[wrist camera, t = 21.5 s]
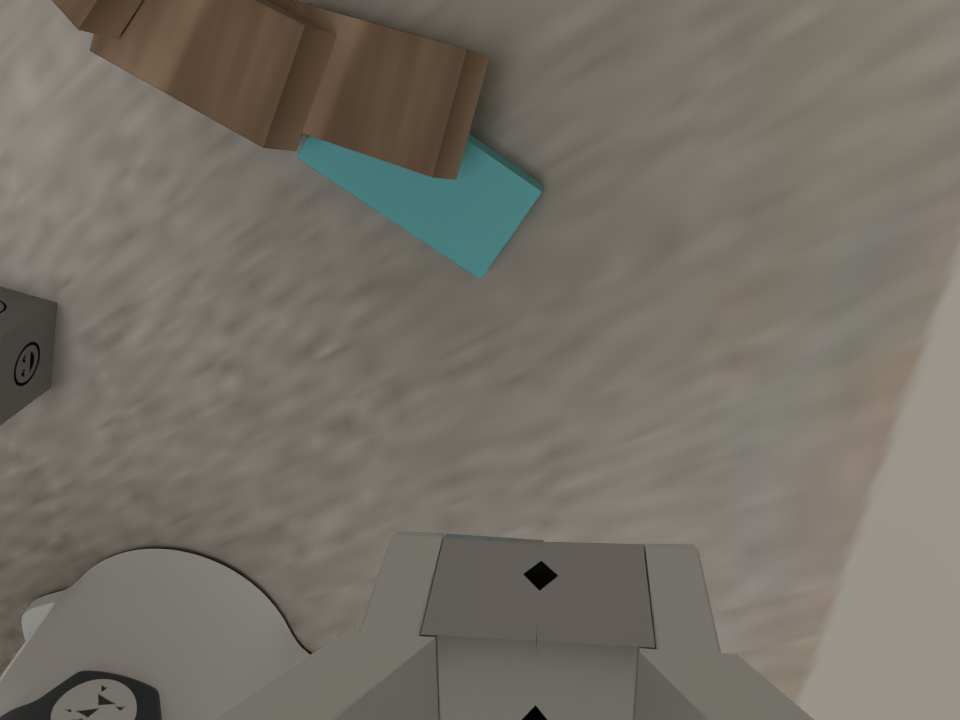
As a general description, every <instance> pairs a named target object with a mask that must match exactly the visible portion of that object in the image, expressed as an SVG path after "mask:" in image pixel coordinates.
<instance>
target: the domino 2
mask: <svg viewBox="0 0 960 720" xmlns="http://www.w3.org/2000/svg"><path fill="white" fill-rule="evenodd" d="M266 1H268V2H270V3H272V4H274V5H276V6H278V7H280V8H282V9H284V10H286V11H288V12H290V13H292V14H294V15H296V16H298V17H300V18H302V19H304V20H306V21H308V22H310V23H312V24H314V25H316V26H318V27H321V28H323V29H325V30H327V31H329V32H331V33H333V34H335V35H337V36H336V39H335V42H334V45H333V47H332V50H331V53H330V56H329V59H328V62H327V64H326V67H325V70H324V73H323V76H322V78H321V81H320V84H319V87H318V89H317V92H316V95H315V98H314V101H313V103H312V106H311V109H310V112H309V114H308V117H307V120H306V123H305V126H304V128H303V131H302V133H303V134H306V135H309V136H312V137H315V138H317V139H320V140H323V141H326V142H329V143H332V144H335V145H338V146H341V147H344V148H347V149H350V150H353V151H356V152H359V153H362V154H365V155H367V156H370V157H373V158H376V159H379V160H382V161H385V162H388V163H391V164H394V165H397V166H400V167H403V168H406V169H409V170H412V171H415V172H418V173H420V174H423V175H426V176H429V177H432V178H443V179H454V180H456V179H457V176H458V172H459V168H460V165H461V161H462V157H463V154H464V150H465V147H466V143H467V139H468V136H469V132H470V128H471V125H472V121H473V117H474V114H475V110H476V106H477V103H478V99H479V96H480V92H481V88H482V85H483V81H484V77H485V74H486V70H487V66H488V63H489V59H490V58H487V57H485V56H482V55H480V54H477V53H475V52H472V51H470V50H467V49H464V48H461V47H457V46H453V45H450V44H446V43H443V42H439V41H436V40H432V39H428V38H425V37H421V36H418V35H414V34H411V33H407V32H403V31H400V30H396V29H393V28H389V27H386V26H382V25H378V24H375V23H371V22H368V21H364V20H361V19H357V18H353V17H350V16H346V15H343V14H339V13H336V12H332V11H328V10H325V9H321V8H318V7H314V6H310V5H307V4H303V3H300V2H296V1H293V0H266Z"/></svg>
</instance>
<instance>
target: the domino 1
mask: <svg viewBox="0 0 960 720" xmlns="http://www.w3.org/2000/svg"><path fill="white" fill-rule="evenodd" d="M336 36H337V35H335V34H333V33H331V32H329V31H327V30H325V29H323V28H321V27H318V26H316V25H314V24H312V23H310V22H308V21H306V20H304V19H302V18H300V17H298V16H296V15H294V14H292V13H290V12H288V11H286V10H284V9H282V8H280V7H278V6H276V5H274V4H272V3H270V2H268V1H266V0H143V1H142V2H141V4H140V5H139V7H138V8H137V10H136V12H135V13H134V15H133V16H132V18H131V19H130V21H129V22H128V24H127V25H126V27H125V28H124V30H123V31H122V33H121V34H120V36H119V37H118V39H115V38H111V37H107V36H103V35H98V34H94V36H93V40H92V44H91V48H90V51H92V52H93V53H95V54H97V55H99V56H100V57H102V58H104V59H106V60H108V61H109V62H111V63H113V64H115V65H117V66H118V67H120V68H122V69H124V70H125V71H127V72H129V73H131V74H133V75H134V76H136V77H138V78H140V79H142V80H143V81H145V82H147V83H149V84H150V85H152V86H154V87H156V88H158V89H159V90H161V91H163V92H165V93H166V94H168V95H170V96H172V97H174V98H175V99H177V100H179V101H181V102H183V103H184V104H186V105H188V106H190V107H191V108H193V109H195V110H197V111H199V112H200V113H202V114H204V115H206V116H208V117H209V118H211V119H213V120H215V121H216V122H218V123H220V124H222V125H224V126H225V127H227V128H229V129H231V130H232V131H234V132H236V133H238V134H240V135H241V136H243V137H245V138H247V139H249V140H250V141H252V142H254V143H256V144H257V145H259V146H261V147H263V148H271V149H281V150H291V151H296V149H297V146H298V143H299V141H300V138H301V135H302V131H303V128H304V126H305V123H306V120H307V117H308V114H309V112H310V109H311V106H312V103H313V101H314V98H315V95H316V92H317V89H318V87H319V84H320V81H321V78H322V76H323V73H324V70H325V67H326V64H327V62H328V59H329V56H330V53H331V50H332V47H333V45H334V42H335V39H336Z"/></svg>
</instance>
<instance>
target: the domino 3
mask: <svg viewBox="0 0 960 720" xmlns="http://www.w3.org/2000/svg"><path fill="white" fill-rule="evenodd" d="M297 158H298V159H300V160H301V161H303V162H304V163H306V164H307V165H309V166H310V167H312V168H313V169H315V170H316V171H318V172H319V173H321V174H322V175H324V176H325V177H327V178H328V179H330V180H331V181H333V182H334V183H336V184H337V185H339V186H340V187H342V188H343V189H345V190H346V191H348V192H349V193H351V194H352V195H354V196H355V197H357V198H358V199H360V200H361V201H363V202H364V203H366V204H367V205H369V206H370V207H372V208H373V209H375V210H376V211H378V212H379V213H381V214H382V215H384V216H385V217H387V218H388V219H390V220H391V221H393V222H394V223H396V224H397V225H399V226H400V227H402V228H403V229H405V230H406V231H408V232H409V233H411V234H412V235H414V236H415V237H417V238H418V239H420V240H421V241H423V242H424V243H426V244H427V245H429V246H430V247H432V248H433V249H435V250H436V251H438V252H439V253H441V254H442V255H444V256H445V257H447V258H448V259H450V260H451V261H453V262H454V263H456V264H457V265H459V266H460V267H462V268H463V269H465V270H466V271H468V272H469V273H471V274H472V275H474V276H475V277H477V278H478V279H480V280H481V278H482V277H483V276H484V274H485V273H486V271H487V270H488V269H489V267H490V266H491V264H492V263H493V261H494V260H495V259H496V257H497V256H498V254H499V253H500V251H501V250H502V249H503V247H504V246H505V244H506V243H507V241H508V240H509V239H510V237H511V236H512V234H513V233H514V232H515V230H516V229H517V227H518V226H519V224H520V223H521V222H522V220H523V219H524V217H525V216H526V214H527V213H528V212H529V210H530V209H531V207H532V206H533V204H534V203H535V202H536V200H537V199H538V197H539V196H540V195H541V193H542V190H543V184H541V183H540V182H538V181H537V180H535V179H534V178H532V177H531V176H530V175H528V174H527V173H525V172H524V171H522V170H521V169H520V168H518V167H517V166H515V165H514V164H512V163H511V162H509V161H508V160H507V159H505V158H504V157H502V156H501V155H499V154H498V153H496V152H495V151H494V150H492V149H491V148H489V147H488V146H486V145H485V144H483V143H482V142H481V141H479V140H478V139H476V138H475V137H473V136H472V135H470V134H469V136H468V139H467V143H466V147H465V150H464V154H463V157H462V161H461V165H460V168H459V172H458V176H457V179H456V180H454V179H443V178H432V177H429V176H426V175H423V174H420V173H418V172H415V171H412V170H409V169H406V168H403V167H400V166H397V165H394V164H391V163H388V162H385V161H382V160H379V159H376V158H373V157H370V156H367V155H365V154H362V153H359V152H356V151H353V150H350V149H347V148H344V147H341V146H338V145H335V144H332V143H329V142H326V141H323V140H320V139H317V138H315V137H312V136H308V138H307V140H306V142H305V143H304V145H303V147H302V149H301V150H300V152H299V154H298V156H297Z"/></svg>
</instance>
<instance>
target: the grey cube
mask: <svg viewBox="0 0 960 720" xmlns="http://www.w3.org/2000/svg"><path fill="white" fill-rule="evenodd" d="M56 310H57V303H55V302H52V301H48V300H45V299H41V298H38V297H34V296H30V295H27V294H23V293H20V292H16V291H13V290H9V289H6V288H2V287H0V425H2V424H3V423H4V422H6V421H7V420H8V419H10V418H11V417H12V416H13V415H15V414H16V413H17V412H19V411H20V410H21V409H23V408H24V407H25V406H27V405H28V404H29V403H31V402H32V401H33V400H35V399H36V398H37V397H39V396H40V395H41V394H43V393H44V392H45V391H47V390H48V389H49V388H50V387H51V374H52V361H53V348H54V336H55V323H56Z"/></svg>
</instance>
